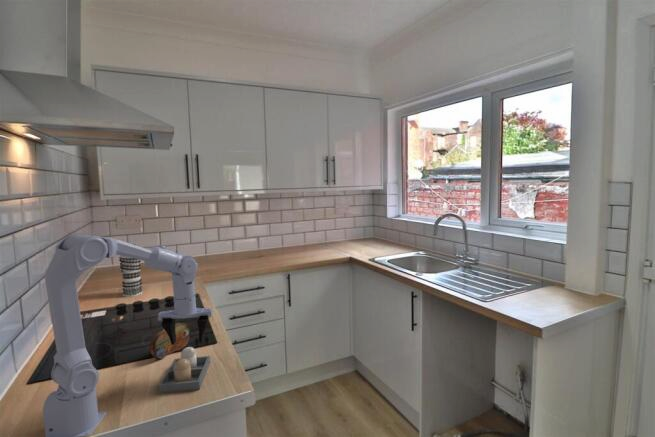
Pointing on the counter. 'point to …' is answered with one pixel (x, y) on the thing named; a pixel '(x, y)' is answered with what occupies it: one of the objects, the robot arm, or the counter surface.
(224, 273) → the counter surface
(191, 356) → the egg
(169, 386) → the grey shallow tray
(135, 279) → the decorative candle
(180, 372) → the brown egg
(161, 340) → the tin
